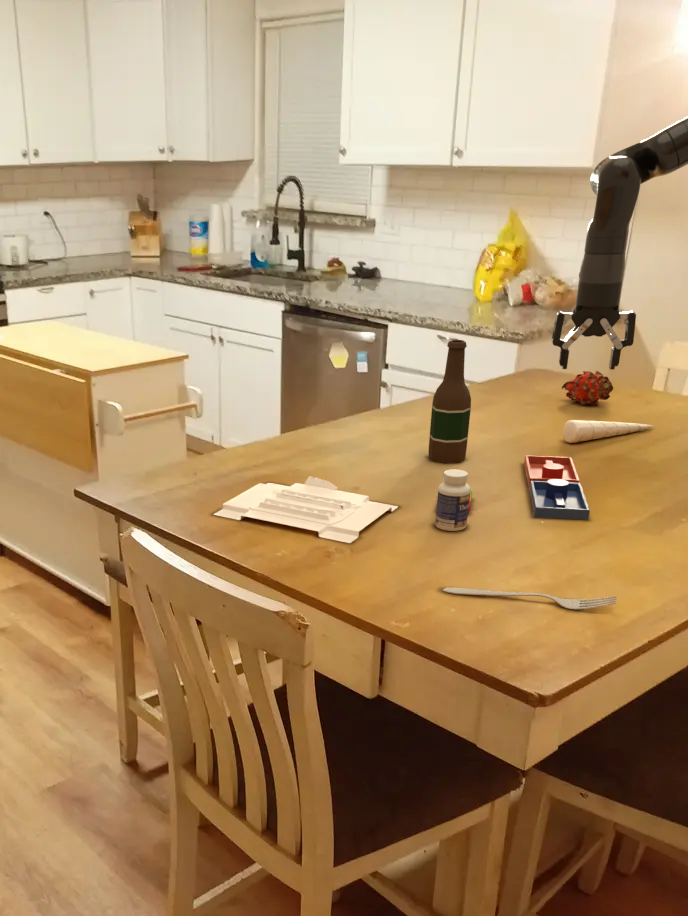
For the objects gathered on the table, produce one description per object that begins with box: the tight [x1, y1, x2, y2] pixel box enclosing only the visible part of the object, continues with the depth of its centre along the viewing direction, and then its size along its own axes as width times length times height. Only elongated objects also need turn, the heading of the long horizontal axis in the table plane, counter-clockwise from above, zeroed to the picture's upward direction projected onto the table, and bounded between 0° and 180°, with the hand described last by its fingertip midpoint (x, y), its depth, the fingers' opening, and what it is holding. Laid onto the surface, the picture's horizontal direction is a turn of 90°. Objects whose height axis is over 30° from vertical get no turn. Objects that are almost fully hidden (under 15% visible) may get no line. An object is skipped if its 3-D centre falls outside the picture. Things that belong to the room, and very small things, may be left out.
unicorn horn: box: [561, 419, 653, 444], centre depth 208 cm, size 5×24×5 cm, turn 108°
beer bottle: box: [428, 339, 472, 464], centre depth 194 cm, size 8×8×24 cm
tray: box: [212, 475, 399, 544], centre depth 174 cm, size 20×28×4 cm
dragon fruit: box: [561, 370, 614, 406], centre depth 233 cm, size 8×8×12 cm
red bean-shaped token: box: [541, 460, 564, 479], centre depth 186 cm, size 10×4×3 cm, turn 167°
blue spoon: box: [545, 479, 569, 508], centre depth 173 cm, size 10×4×3 cm, turn 167°
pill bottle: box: [434, 468, 471, 532], centre depth 164 cm, size 5×5×10 cm
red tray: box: [523, 454, 580, 489], centre depth 187 cm, size 9×14×2 cm, turn 167°
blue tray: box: [528, 481, 591, 521], centre depth 173 cm, size 9×14×2 cm, turn 167°
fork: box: [442, 586, 618, 610], centre depth 139 cm, size 3×24×2 cm, turn 70°
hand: (587, 368), depth 181 cm, fingers open, 8 cm apart
